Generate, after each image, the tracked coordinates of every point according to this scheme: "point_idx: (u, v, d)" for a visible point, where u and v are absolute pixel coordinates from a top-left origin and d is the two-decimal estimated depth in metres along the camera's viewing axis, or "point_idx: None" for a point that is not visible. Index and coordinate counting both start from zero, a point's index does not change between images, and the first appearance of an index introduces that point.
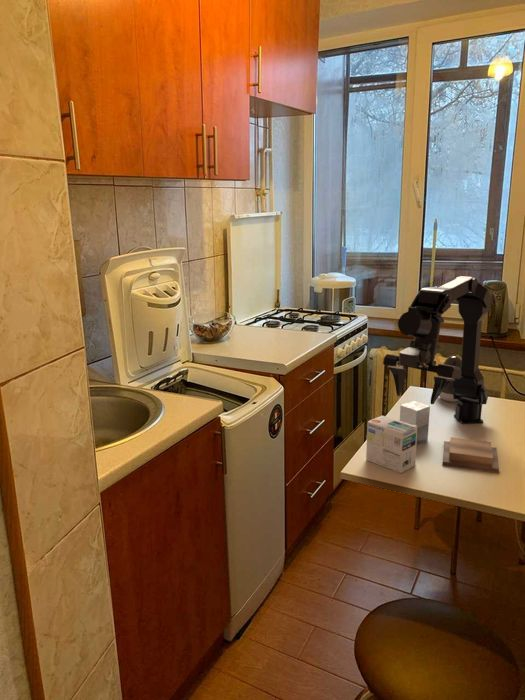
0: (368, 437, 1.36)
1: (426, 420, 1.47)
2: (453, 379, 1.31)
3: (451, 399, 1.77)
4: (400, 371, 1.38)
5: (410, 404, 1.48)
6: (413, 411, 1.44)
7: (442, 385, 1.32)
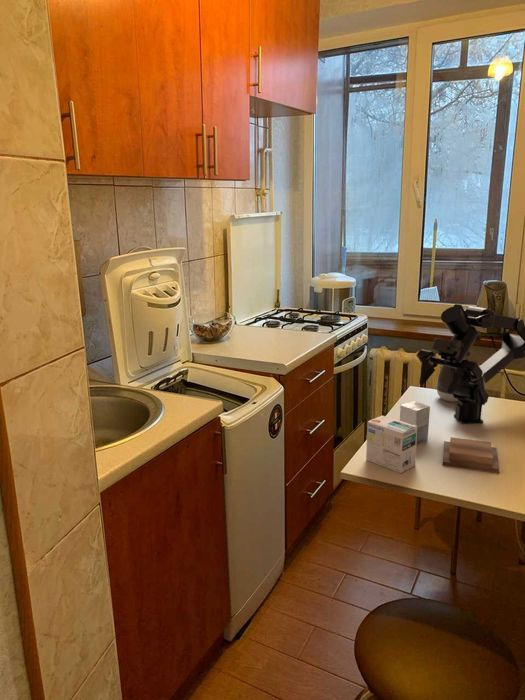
0: (368, 437, 1.36)
1: (426, 420, 1.47)
2: (473, 378, 1.47)
3: (451, 399, 1.77)
4: (429, 365, 1.56)
5: (410, 404, 1.48)
6: (413, 411, 1.44)
7: (462, 380, 1.48)
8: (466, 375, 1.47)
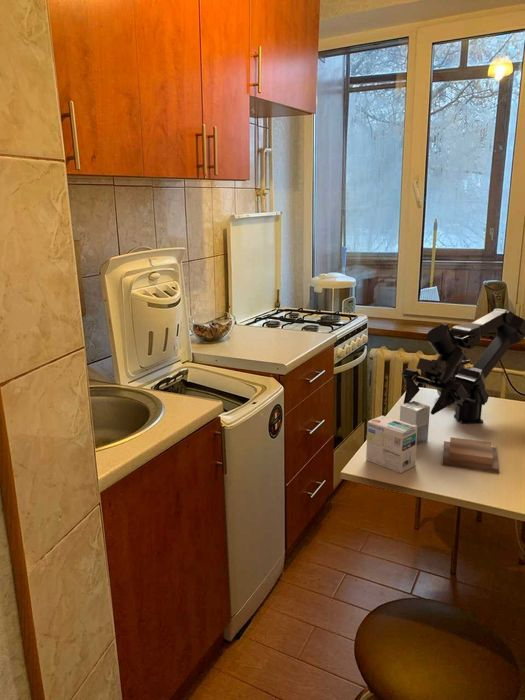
0: (368, 437, 1.36)
1: (426, 420, 1.47)
2: (457, 399, 1.44)
3: None
4: (414, 385, 1.53)
5: (410, 404, 1.48)
6: (413, 411, 1.44)
7: (446, 402, 1.45)
8: (450, 396, 1.44)
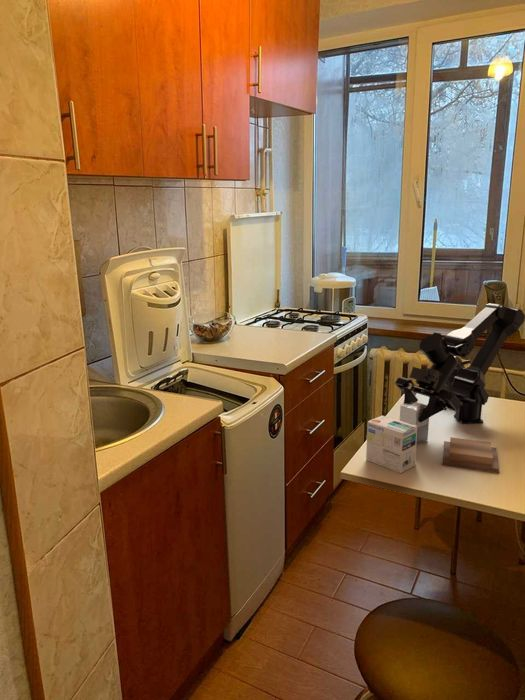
0: (368, 437, 1.36)
1: (426, 420, 1.47)
2: (445, 407, 1.45)
3: None
4: (412, 395, 1.51)
5: (410, 404, 1.48)
6: (413, 411, 1.44)
7: (434, 409, 1.46)
8: (438, 404, 1.45)
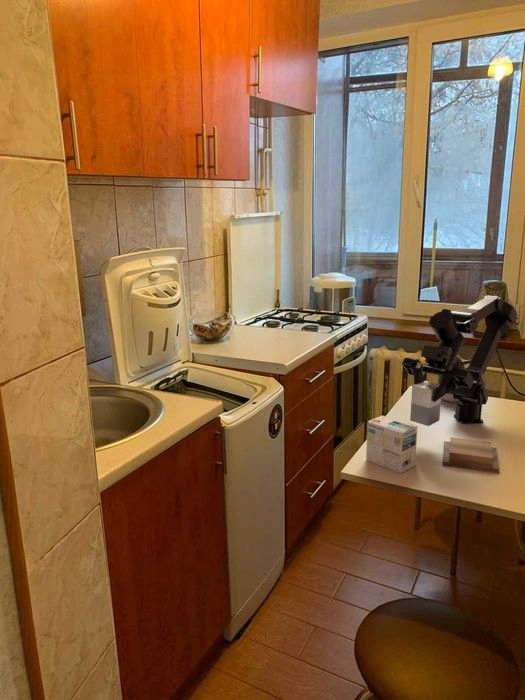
0: (368, 437, 1.36)
1: None
2: (458, 385, 1.41)
3: (451, 399, 1.77)
4: (421, 375, 1.46)
5: (421, 384, 1.43)
6: (427, 390, 1.39)
7: (447, 388, 1.41)
8: (451, 382, 1.41)
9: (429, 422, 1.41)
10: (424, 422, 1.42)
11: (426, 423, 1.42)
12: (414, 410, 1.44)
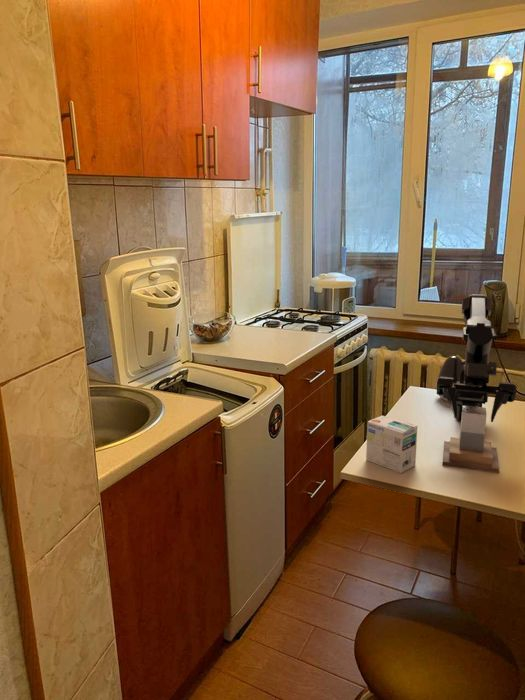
0: (368, 437, 1.36)
1: None
2: (506, 400, 1.36)
3: None
4: None
5: (468, 409, 1.35)
6: (482, 416, 1.32)
7: None
8: (502, 398, 1.35)
9: None
10: (477, 449, 1.34)
11: (480, 450, 1.34)
12: (465, 438, 1.35)
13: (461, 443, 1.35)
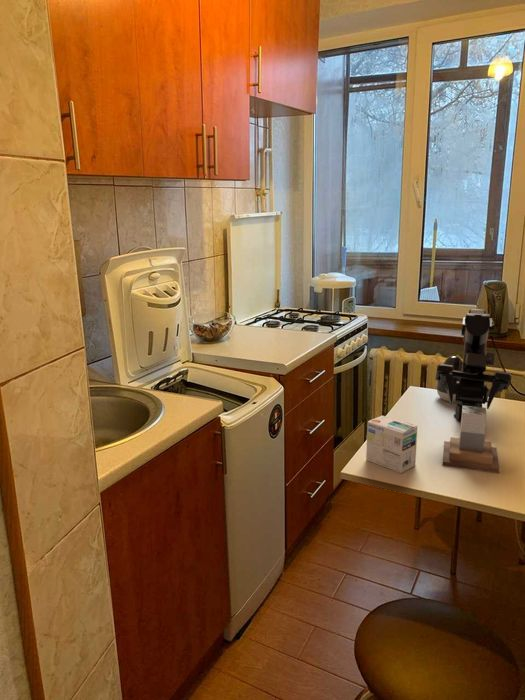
0: (368, 437, 1.36)
1: None
2: (502, 389, 1.45)
3: None
4: None
5: (468, 409, 1.35)
6: (482, 416, 1.32)
7: None
8: (498, 387, 1.44)
9: None
10: (477, 449, 1.34)
11: (480, 450, 1.34)
12: (465, 438, 1.35)
13: (461, 443, 1.35)
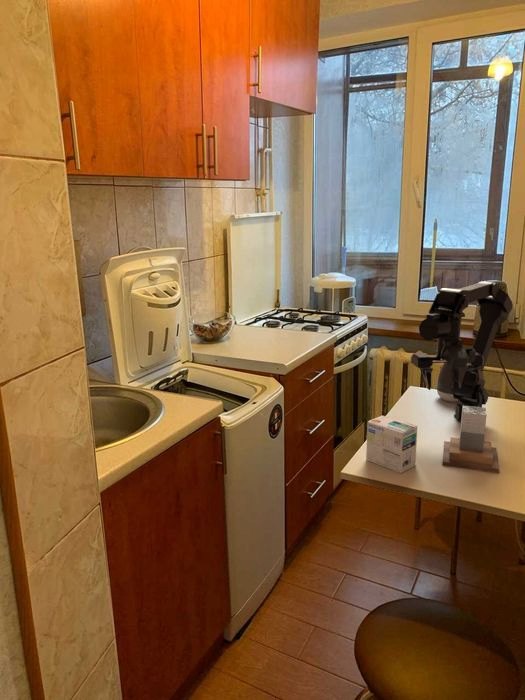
0: (368, 437, 1.36)
1: None
2: None
3: (451, 399, 1.77)
4: None
5: (468, 409, 1.35)
6: (482, 416, 1.32)
7: None
8: None
9: None
10: (477, 449, 1.34)
11: (480, 450, 1.34)
12: (465, 438, 1.35)
13: (461, 443, 1.35)
